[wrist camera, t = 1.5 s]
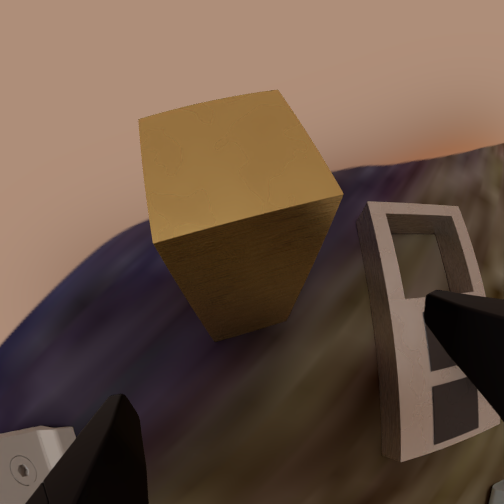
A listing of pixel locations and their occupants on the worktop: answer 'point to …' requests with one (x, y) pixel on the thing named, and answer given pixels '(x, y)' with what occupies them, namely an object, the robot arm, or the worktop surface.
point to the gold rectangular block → (236, 206)
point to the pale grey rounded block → (497, 493)
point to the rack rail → (419, 334)
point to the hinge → (29, 459)
